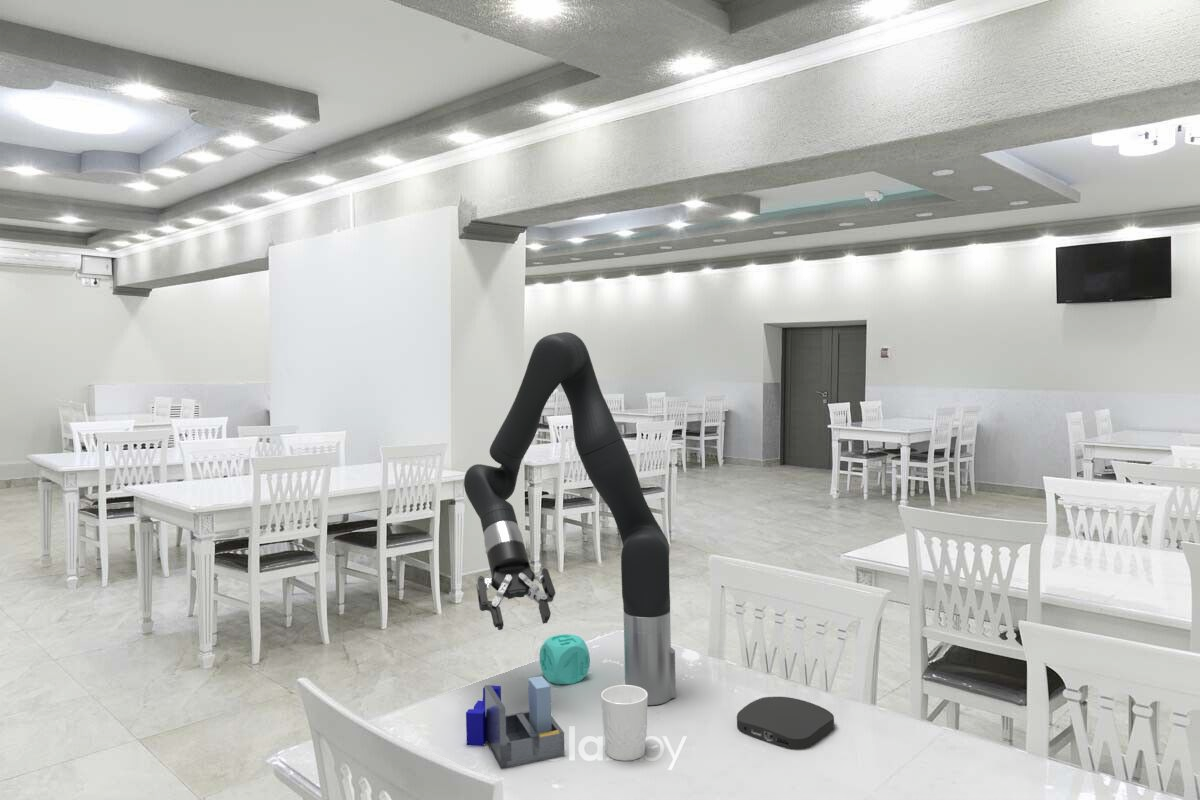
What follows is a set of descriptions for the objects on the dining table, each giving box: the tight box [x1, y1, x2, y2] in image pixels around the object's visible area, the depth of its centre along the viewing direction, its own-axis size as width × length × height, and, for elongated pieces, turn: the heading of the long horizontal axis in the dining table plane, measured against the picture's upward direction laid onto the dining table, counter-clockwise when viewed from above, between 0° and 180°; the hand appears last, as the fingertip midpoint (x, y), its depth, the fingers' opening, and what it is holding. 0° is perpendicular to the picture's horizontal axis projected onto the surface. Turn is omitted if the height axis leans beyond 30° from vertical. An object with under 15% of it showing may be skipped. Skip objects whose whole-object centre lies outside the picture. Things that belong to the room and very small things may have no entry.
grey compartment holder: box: [484, 684, 566, 770], centre depth 139 cm, size 11×10×10 cm
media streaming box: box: [736, 696, 835, 751], centre depth 145 cm, size 15×15×3 cm
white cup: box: [600, 684, 648, 762], centre depth 137 cm, size 8×8×10 cm
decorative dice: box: [539, 633, 591, 685], centre depth 170 cm, size 8×8×8 cm
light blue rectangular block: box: [528, 675, 552, 736], centre depth 140 cm, size 2×5×10 cm, turn 21°
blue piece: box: [465, 685, 502, 747], centre depth 146 cm, size 12×4×6 cm, turn 172°
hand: (523, 624), depth 148 cm, fingers open, 8 cm apart
